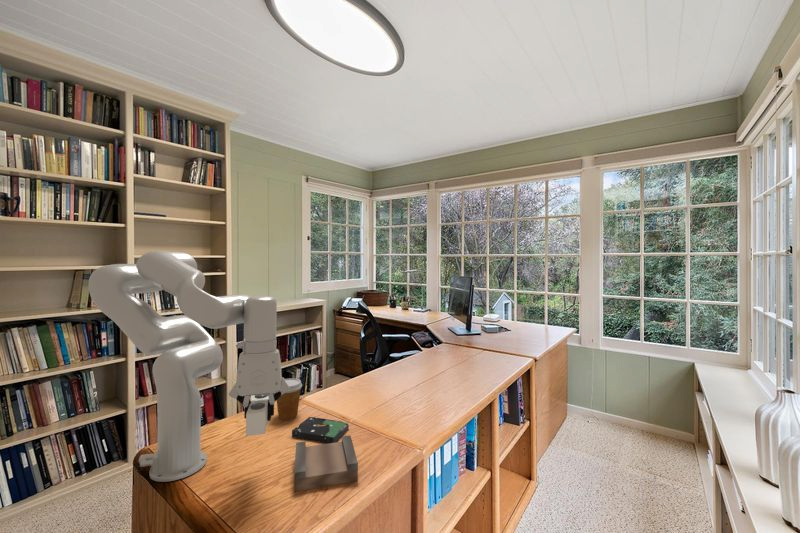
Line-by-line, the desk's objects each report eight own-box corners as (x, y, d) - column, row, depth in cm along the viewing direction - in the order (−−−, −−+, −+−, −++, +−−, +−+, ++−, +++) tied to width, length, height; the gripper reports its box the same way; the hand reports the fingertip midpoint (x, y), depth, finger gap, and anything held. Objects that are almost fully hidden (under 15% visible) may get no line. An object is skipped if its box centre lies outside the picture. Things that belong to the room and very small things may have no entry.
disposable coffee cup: (277, 411, 122) (277, 378, 122) (304, 410, 123) (304, 377, 123) (270, 423, 112) (270, 387, 112) (299, 422, 113) (299, 386, 113)
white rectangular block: (245, 436, 75) (246, 412, 75) (255, 410, 89) (255, 390, 89) (264, 433, 76) (264, 410, 76) (270, 408, 90) (271, 389, 90)
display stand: (294, 491, 78) (294, 472, 78) (296, 458, 92) (296, 442, 92) (357, 481, 82) (357, 462, 82) (350, 450, 96) (350, 435, 96)
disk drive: (291, 439, 103) (334, 446, 99) (291, 430, 103) (334, 437, 99) (309, 424, 113) (349, 429, 109) (309, 416, 113) (349, 421, 109)
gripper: (219, 352, 77) (218, 431, 77) (294, 347, 81) (294, 422, 81) (226, 344, 84) (225, 416, 84) (295, 341, 89) (295, 409, 89)
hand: (259, 418), depth 83 cm, fingers closed on white rectangular block, 4 cm apart
